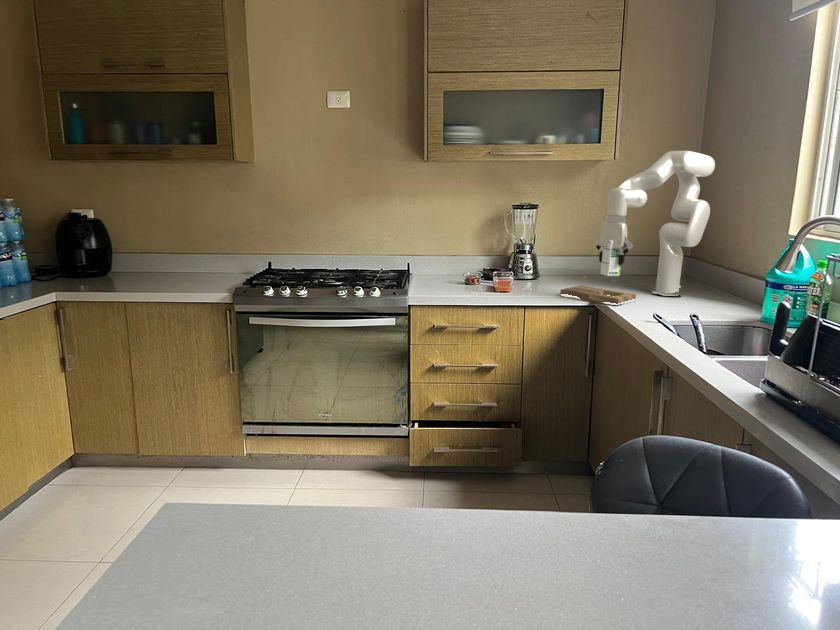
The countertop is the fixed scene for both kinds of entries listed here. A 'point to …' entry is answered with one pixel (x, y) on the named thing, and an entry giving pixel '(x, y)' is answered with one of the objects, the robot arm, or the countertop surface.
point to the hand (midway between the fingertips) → (611, 262)
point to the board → (598, 294)
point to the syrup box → (610, 260)
